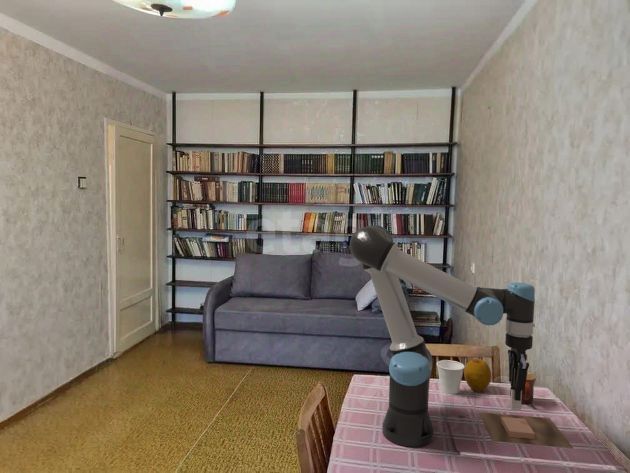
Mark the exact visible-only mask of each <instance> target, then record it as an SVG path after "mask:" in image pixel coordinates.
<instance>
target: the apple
mask: <svg viewBox="0 0 630 473" xmlns="http://www.w3.org/2000/svg"><path fill="white" fill-rule="evenodd" d="M463 377H464V378H465V382H466V384H467V385H468V387H469V389H470V388H471V390H473V391H475V392H483V391H485V390H486V389H487V388H488V386H489V385H490V383H491V380H492V372H491V369H490V366H489V365H488V363H487V362H486V361H485V360H484V359H482V358H475V359H471V360H469V361H468V362H467V363H466V365H465V368H464V370H463Z"/></svg>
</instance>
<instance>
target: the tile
mask: <svg viewBox="0 0 630 473" xmlns="http://www.w3.org/2000/svg"><path fill="white" fill-rule="evenodd" d="M501 423H502V424H503V426H504V428H505V430H506V432H507V433H508V435H509V437H517V438H528V439H534V437H535V433H534V432H533V430H532V429H531V427H530V426H529V424H528V423H527V421H526V420H525V419H521V418H509V417H501Z"/></svg>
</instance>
